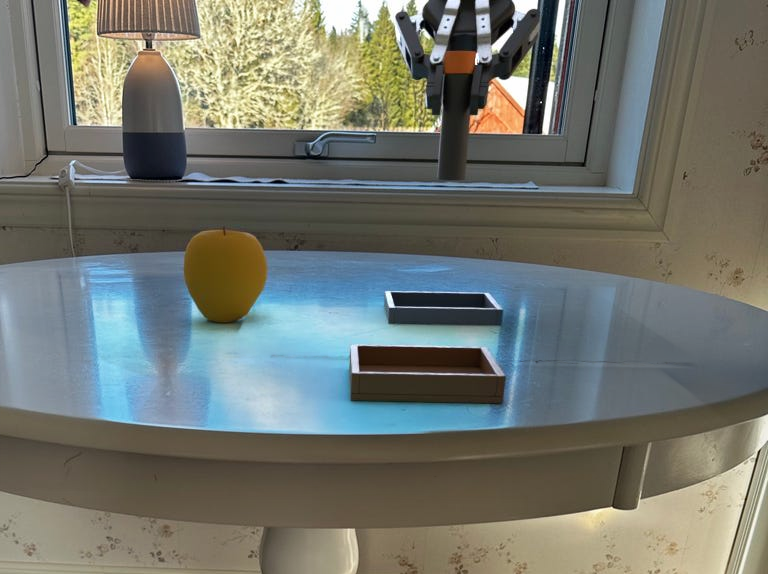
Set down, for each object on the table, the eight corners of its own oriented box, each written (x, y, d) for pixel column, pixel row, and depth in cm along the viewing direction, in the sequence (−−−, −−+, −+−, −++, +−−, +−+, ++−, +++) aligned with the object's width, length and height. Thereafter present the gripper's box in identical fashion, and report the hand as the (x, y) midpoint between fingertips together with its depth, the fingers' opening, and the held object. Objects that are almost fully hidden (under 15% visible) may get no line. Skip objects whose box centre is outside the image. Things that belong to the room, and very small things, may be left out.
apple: (285, 321, 98) (285, 227, 93) (217, 331, 93) (214, 233, 89) (235, 309, 103) (234, 220, 99) (169, 318, 99) (164, 225, 94)
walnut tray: (484, 371, 79) (487, 346, 78) (503, 403, 70) (506, 376, 69) (349, 368, 79) (350, 344, 78) (350, 400, 70) (351, 373, 70)
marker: (464, 179, 91) (474, 52, 86) (467, 180, 89) (478, 50, 84) (434, 178, 91) (443, 52, 86) (437, 180, 89) (446, 50, 84)
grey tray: (487, 312, 103) (489, 292, 102) (501, 330, 94) (503, 309, 93) (383, 310, 104) (384, 291, 103) (387, 328, 95) (389, 307, 94)
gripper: (400, -76, 88) (374, 73, 83) (556, -82, 85) (538, 71, 81) (403, 0, 95) (380, 140, 90) (547, -4, 92) (531, 141, 88)
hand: (455, 107), depth 86 cm, fingers closed on marker, 3 cm apart
